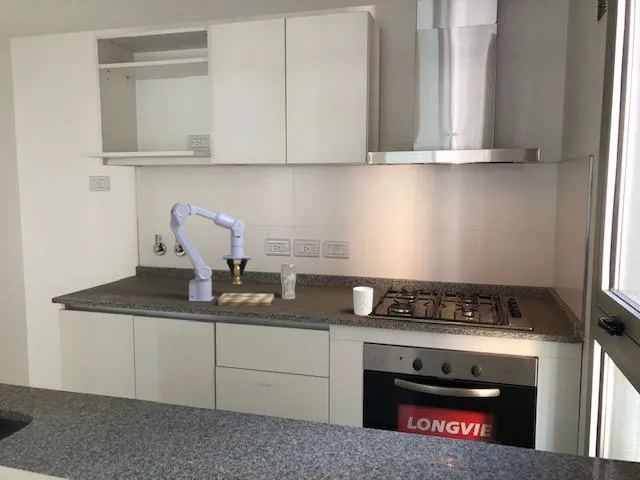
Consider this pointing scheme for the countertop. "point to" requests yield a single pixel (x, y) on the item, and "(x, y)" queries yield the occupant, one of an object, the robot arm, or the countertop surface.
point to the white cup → (362, 300)
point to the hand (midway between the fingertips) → (237, 276)
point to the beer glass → (288, 280)
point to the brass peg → (237, 273)
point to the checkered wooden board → (245, 299)
